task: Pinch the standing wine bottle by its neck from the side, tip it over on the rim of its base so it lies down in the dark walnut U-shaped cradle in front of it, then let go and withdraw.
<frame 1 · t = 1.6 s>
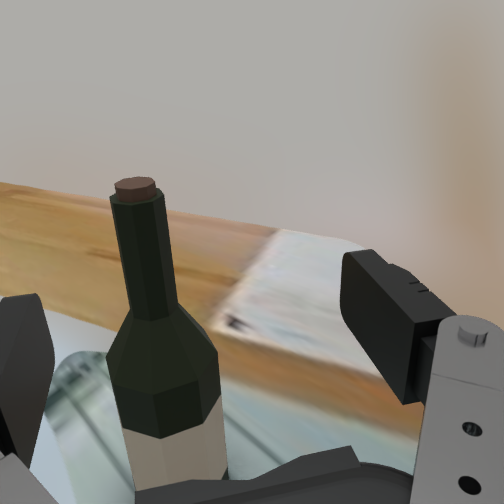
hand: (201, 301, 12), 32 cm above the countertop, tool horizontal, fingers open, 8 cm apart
wine bottle: (184, 501, 42), on the countertop
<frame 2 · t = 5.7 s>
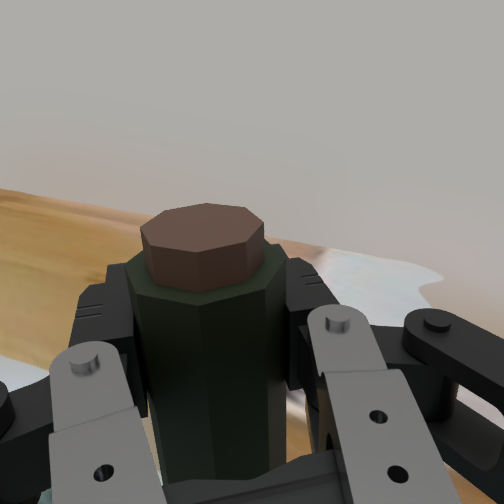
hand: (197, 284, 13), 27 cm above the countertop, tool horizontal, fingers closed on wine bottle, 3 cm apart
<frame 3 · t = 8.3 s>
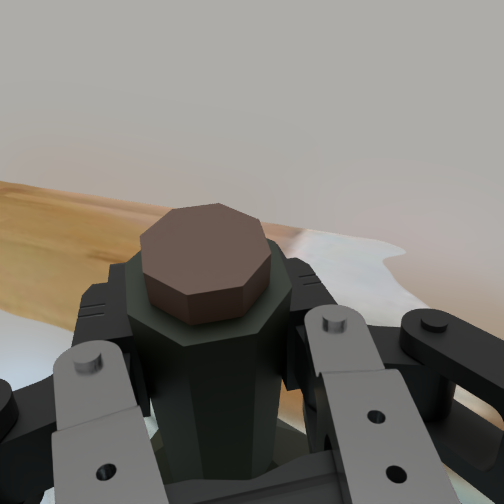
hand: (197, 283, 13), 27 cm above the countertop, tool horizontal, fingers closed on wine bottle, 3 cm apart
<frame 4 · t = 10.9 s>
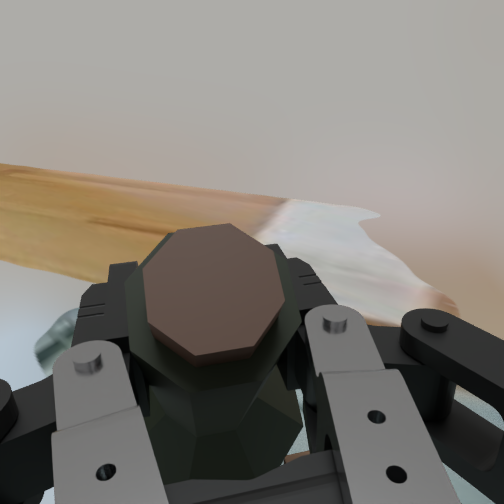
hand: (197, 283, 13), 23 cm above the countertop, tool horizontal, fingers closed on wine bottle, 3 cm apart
wine bottle: (206, 438, 35), point 2 cm above the countertop, touching gripper
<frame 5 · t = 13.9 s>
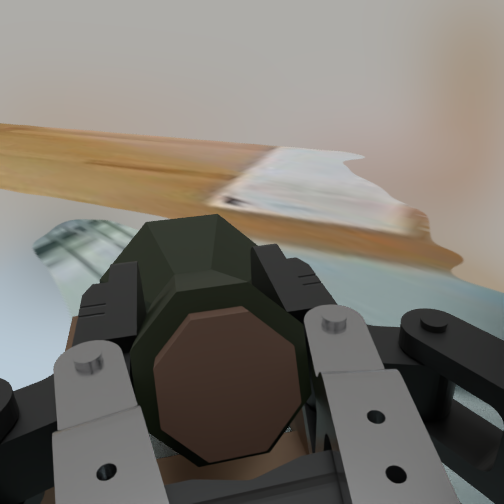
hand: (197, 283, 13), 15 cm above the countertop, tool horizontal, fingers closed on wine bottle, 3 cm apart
wine bottle: (184, 282, 37), point 4 cm above the countertop, touching cradle, gripper
cradle: (196, 422, 29), on the countertop
when the fingers open (10 cm above the countertop, at t = 16.1 s): wine bottle stays where it is, resting on cradle.
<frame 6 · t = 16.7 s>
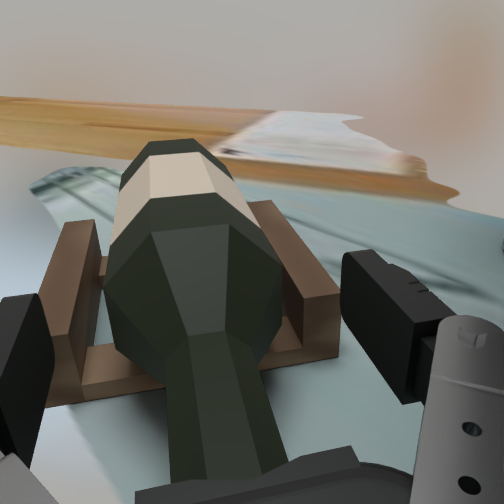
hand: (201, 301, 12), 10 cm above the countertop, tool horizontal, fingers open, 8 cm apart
wine bottle: (176, 189, 35), point 5 cm above the countertop, touching cradle
cradle: (187, 316, 29), on the countertop
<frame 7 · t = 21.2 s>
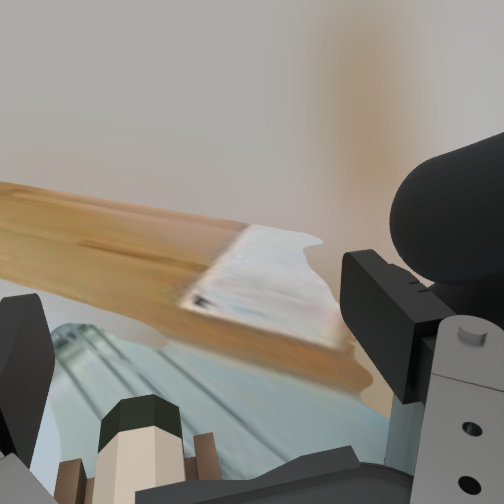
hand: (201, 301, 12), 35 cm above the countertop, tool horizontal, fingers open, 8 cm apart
wine bottle: (142, 423, 48), point 5 cm above the countertop, touching cradle
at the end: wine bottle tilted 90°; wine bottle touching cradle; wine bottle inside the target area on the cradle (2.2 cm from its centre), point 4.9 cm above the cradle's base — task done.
